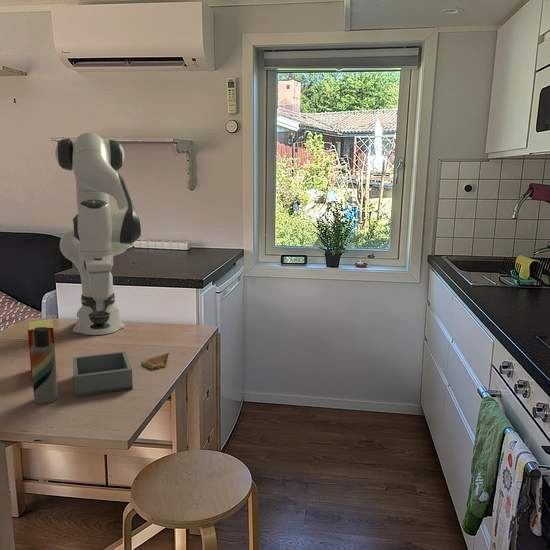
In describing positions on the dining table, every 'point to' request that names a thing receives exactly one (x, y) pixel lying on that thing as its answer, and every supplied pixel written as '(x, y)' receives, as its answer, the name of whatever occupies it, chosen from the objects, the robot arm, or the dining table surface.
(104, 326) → the stone chess piece
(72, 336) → the dining table surface
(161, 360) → the shard
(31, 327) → the baking soda box
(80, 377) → the box
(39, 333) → the lotion bottle
